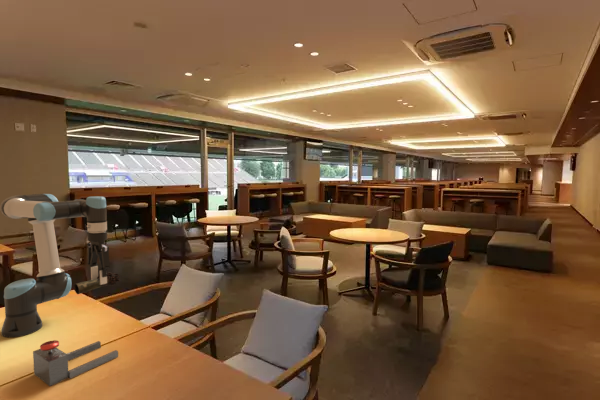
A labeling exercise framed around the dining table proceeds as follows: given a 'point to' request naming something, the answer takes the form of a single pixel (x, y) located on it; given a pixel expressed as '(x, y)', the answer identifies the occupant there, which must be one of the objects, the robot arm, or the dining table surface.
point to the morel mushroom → (95, 283)
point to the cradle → (64, 361)
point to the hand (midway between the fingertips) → (99, 282)
